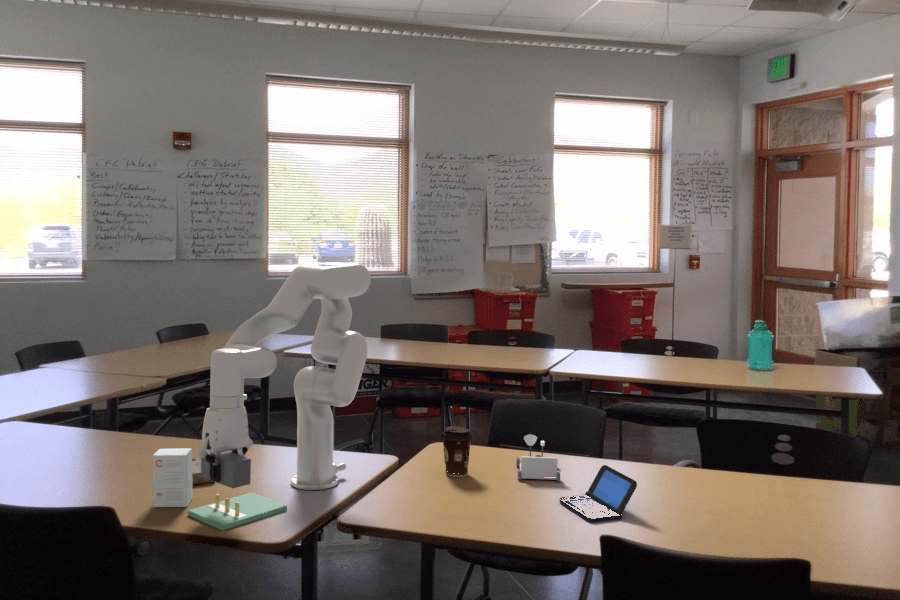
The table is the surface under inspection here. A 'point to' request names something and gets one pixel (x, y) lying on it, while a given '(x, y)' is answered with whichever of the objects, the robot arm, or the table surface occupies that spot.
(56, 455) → the table surface
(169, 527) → the table surface
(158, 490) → the small box
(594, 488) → the laptop
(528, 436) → the toy rover
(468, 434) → the coffee cup
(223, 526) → the header board
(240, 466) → the block
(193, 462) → the box
